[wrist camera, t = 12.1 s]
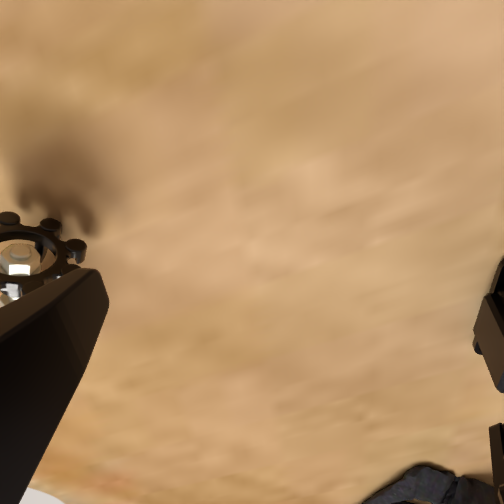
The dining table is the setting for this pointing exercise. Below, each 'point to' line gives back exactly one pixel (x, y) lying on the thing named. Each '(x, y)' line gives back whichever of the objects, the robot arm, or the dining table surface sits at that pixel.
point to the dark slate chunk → (434, 489)
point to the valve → (33, 256)
